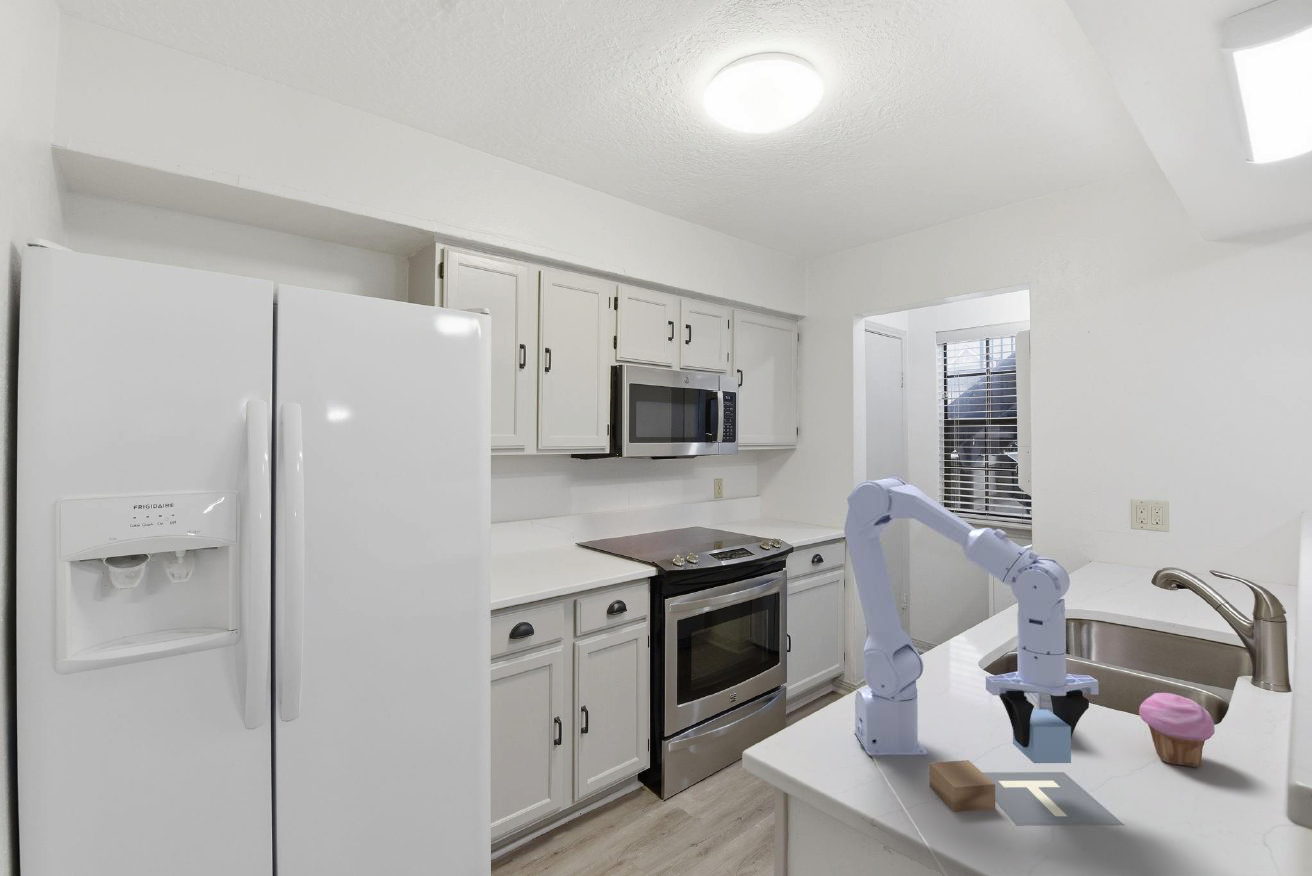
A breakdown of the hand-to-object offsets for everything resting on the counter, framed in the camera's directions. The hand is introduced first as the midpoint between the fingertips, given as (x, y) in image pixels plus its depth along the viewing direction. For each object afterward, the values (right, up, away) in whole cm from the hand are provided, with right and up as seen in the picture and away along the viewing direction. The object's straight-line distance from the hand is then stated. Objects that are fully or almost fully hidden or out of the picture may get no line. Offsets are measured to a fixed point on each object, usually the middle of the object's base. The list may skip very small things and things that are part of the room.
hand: (1041, 743), depth 84 cm
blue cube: (0, -2, 0) cm, 2 cm away
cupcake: (+27, -8, +10) cm, 30 cm away
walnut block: (-11, -8, 0) cm, 14 cm away
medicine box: (+12, -8, +19) cm, 24 cm away
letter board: (0, -8, 0) cm, 8 cm away
